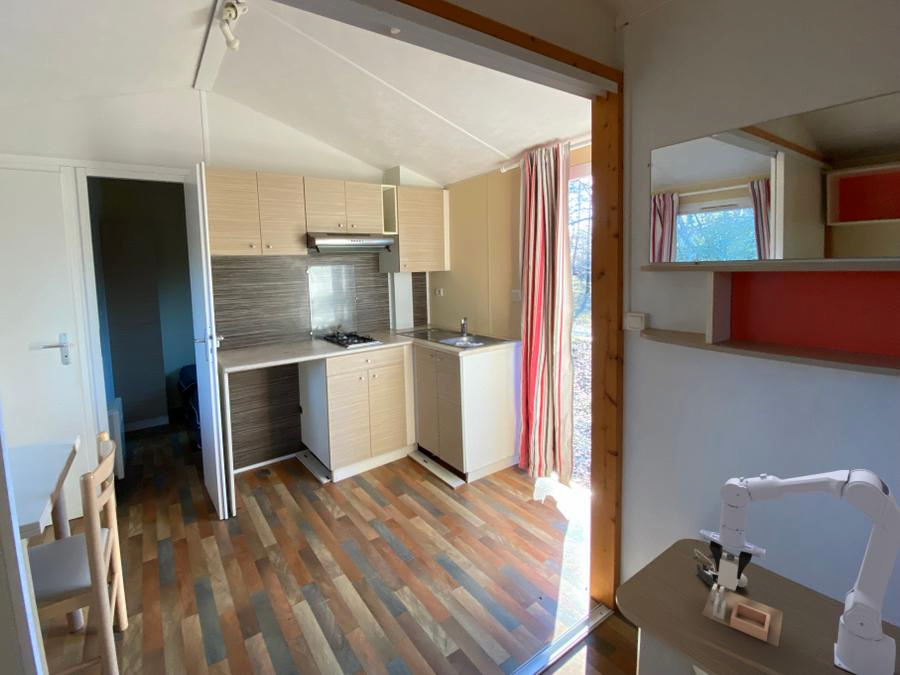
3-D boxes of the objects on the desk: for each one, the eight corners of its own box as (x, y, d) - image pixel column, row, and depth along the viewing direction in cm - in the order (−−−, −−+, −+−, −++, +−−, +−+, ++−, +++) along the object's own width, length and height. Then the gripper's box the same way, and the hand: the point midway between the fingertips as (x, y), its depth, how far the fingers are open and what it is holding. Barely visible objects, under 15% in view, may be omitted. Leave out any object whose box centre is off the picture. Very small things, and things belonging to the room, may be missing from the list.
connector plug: (737, 583, 119) (741, 555, 118) (735, 590, 116) (738, 562, 115) (720, 576, 121) (723, 548, 120) (717, 583, 118) (720, 555, 117)
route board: (783, 615, 117) (783, 611, 117) (777, 650, 105) (778, 646, 105) (712, 588, 127) (713, 585, 127) (701, 618, 116) (701, 614, 115)
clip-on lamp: (685, 566, 142) (708, 591, 124) (683, 545, 143) (705, 567, 125) (726, 567, 140) (754, 592, 122) (723, 545, 141) (751, 568, 123)
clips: (729, 601, 120) (730, 589, 120) (723, 620, 114) (724, 607, 113) (713, 594, 123) (714, 583, 122) (706, 612, 116) (707, 600, 116)
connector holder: (769, 623, 112) (770, 614, 112) (766, 641, 107) (767, 631, 106) (734, 610, 117) (735, 601, 117) (730, 626, 111) (730, 617, 111)
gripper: (768, 528, 115) (764, 578, 117) (705, 510, 124) (701, 555, 126) (765, 540, 110) (760, 591, 111) (699, 519, 119) (695, 567, 121)
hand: (728, 573), depth 118 cm, fingers closed on connector plug, 4 cm apart
